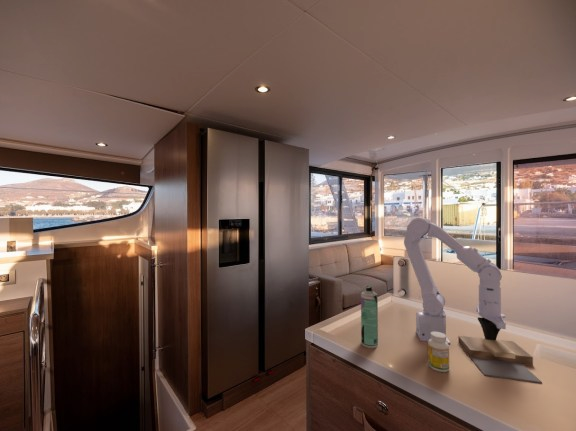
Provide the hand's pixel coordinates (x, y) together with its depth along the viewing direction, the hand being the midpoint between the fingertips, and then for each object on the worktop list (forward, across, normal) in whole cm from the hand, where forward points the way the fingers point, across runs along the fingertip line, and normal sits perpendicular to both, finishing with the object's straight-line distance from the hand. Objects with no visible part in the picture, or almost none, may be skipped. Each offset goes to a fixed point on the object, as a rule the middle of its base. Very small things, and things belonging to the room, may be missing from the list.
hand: (490, 341), depth 84 cm
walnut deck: (+3, -2, 0) cm, 3 cm away
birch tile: (0, -5, 0) cm, 5 cm away
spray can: (+3, -5, +38) cm, 39 cm away
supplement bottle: (+3, -14, +19) cm, 24 cm away
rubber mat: (+3, -11, +2) cm, 12 cm away
